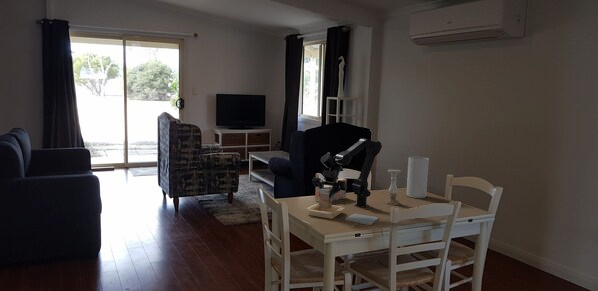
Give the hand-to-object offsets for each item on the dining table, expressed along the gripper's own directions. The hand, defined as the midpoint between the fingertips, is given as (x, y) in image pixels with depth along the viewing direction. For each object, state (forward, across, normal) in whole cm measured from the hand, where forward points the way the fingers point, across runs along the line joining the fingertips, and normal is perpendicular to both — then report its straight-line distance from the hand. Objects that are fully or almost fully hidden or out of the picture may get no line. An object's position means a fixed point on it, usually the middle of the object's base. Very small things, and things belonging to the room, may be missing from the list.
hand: (324, 196), depth 240 cm
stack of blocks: (-18, -11, +32) cm, 39 cm away
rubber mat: (+5, +20, +10) cm, 23 cm away
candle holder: (-26, +24, +41) cm, 54 cm away
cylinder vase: (-46, +32, +61) cm, 83 cm away
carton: (+6, 0, +8) cm, 10 cm away
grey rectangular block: (+3, 0, +5) cm, 6 cm away
